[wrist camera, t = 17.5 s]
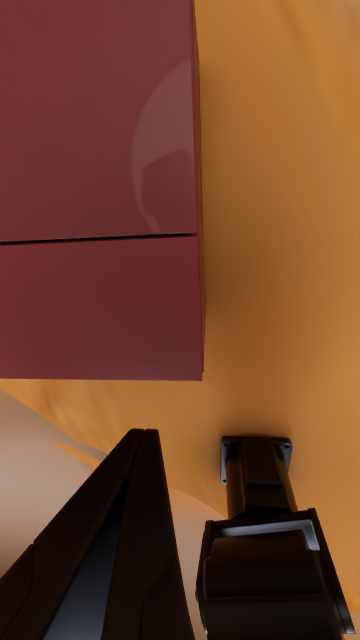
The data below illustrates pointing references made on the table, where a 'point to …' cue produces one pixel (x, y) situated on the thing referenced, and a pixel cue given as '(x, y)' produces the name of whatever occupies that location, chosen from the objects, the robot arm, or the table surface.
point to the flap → (101, 309)
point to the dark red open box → (100, 121)
